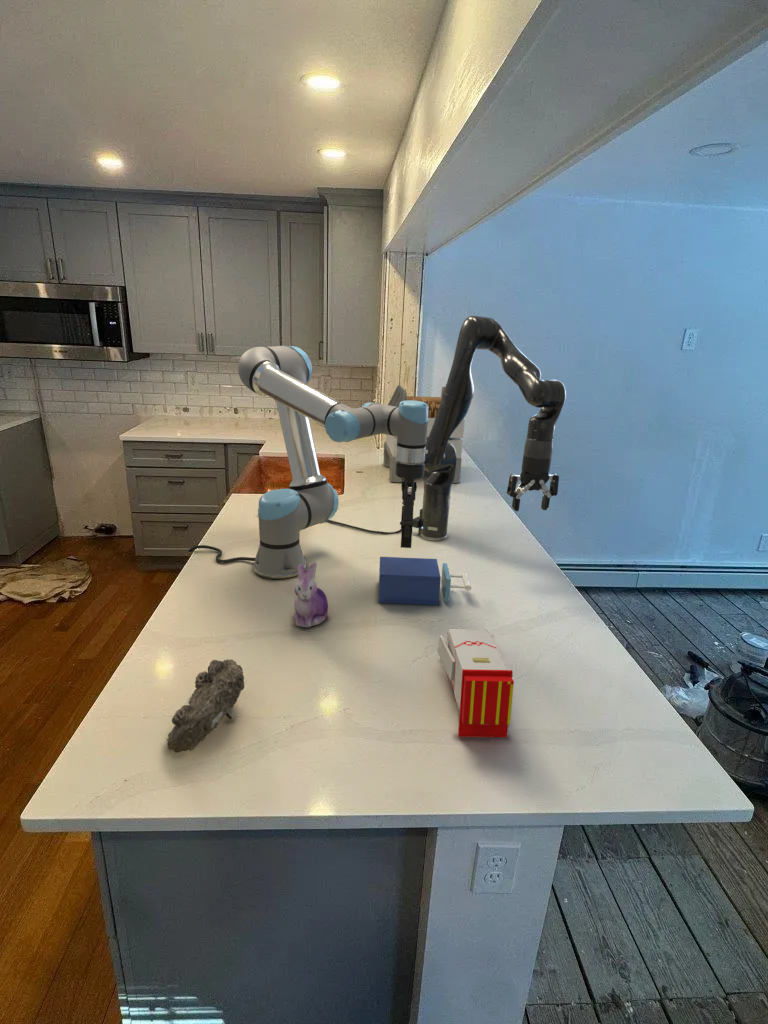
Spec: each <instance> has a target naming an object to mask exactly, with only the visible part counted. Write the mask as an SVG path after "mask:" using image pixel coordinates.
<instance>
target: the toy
mask: <svg viewBox="0 0 768 1024" xmlns="http://www.w3.org/2000/svg"><path fill="white" fill-rule="evenodd" d="M446 640H447V643H446V641H445V639H444V636H443V635H442V634H439V637H438V646H437V656H438V657H439V659H440V661H441V663H442V666H443V668H444V670H445V672H446V674H447V677H448V679H449V681H450V684H451V687H452V690H453V693H454V697H455V701H456V705H457V708H458V711H459V714H458V715H459V716H458V730H457V731H458V732H457V737H458V738H508V731H509V726H510V725H511V717H512V707H513V697H514V696H513V695H514V684H515V680H514V679H513V673H514V671H513V670H512V669H508V667H507V665H506V662H505V661H504V659H503V658H502V655H501V653H500V651H499V649H498V647H497V643H496V639H495V637H494V635H493V634H491V632H490V631H489V629H467V628H466V629H465V628H463V629H461V628H460V629H459V628H448V630H447V639H446Z"/></svg>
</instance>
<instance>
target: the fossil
mask: <svg viewBox="0 0 768 1024" xmlns="http://www.w3.org/2000/svg"><path fill="white" fill-rule="evenodd" d="M243 670H244V669H243V667H242V665H240V664H237V662H236V661H235V660H234V659H232V658H231V659H227V658H226V659H224V660H223V661H222V660H217V659H212V660H211V661H210V663H209V665H208V666H207V671H201V672H199V673H198V674H197V675H196V676H195V680H194V684H195V685H194V687H195V689H194V690H193V693H192V694H191V697H190V698H189V700H188V704H184V705H182V706H181V707H180V709H177V710H176V711H175V713H174V715H173V716H172V718H171V723H172V724H173V727H172V730H171V731H170V732H168V734H167V738H166V741H167V742H166V745H167V749H168V750H169V751H173V752H174V753H176V754H178V753H182V752H188V751H189V752H192V751H193V750H195V748H196V747H197V746H199V744H200V743H201V742H203V741H204V740H205V739H206V738H207V737H208V736H209V735H210V734H211V733H212V732H214V730H215V729H217V727H218V726H219V724H220V722H221V721H222V720H223V719H224V718H225V716H226V717H227V719H229V720H233V717H232V715H230V714H229V710H230V709H231V708H234V706H235V704H236V703H237V702H238V699H239V697H240V695H241V693H242V691H243V690H245V689H244V688H245V675H244V671H243Z"/></svg>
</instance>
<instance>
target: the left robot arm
mask: <svg viewBox="0 0 768 1024" xmlns="http://www.w3.org/2000/svg"><path fill="white" fill-rule="evenodd" d="M237 372H238V376H239V379H240V381H241V383H242V384H243V385H244V386H245V387H246V388H247V389H249V390H250V391H252V392H253V393H255V394H257V395H258V396H261V397H266V396H268V397H270V398H271V399H273V400H274V401H275V402H276V403H275V404H276V408H277V412H278V416H279V417H278V418H279V423H280V427H281V431H282V436H283V441H284V446H285V450H286V455H287V460H288V463H289V468H290V473H291V477H292V480H291V481H290V483H289V484H288V488H280V489H279V488H276V489H272V490H269V491H266V492H265V493H263V494H262V495H261V496H260V498H259V499H258V508H257V516H258V530H259V531H258V536H259V539H258V540H259V545H258V549H257V551H256V555H255V557H248V556H237V557H231V558H227V559H223V558H222V559H221V558H220V557H221V556H222V554H223V551H222V549H220V548H218V547H216V546H211V545H204V544H200V545H199V544H198V545H195V546H192V547H190V548H189V549H188V550H187V551H188V553H191V552H193V551H195V550H198V549H207V550H212V551H214V552H217V555H216V556H215V561H216V562H218V563H221V564H227V563H232V562H238V561H248V562H249V561H250V562H254V563H253V571H254V573H255V574H257V575H258V576H260V577H263V578H266V579H271V580H285V579H292V578H295V577H298V566H299V564H303V566H304V568H305V570H306V568H307V562H306V561H307V558H306V556H305V555H304V552H303V549H302V547H301V543H300V542H301V541H300V539H301V538H300V536H301V535H300V531H303V530H306V529H308V528H310V527H313V526H317V525H319V524H324V523H326V522H327V520H332V518H334V517H335V515H336V513H337V511H338V509H339V505H340V504H339V494H338V492H337V489H335V488H334V486H333V485H331V484H330V483H328V479H327V477H326V476H324V475H323V474H321V470H320V465H319V460H318V456H317V451H316V446H315V441H314V438H313V437H314V436H313V431H312V427H311V422H310V420H311V421H312V422H314V423H316V424H317V425H319V426H321V427H323V428H324V430H325V433H326V435H327V436H328V437H329V439H330V440H331V441H333V442H335V443H349V442H353V441H355V440H359V439H363V438H368V437H372V436H377V435H386V434H387V435H392V436H397V450H396V460H397V462H396V472H395V474H396V476H397V477H399V478H402V482H401V485H400V486H401V489H400V490H401V500H402V503H401V504H402V505H401V520H400V521H399V525H400V529H401V528H402V531H401V535H400V548H403V549H404V548H405V549H412V541H413V528H414V527H413V519H414V506H415V501H416V493H417V488H418V485H417V481H415V480H420V479H422V478H424V477H425V464H424V463H423V462H424V461H425V454H427V453H428V450H425V449H426V437H427V427H428V421H429V419H428V405H427V404H426V403H425V402H421V401H413V400H406V401H402V402H400V404H399V407H394V406H389V405H388V404H383V403H380V402H365V403H364V404H363V405H362V406H360V407H357V408H353V407H350V406H349V405H347V404H344V403H343V402H340V401H338V400H337V399H335V398H333V397H331V396H330V395H327V394H325V393H323V392H322V391H320V390H318V389H317V388H314V387H312V386H310V385H309V384H308V383H309V382H310V380H311V378H312V375H313V366H312V361H311V359H310V357H309V356H308V354H307V353H306V352H305V351H304V350H302V349H301V348H300V347H298V346H295V345H293V346H292V345H285V344H284V345H274V346H273V345H271V346H255V347H252V348H250V349H249V348H248V350H246V351H245V352H244V353H243V354H242V355H241V357H240V359H239V361H238V365H237ZM197 548H198V549H197Z"/></svg>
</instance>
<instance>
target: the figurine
mask: <svg viewBox="0 0 768 1024" xmlns="http://www.w3.org/2000/svg"><path fill="white" fill-rule="evenodd" d="M316 573H317V563H316V562H313V563H311V565H310V566H309V567H308V569H307V570H306V569H305V568H304V566H303V564H299V566H298V575H297V578H298V579H297V581H296V583H295V586H294V589H293V590H294V594H295V596H296V598H295V601H294V612H295V615H294V619H295V626H297V627H302V628H311V627H312V626H313V627H314V626H318V625H320V624H322V623H323V622H324V621H325V620H326V619H327V616H328V610H329V604H328V598H327V595H326V594H325V592H324V591H323V590H322V589H321V588H319V587H318V586H317V583H316V581H315V575H316Z"/></svg>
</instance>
